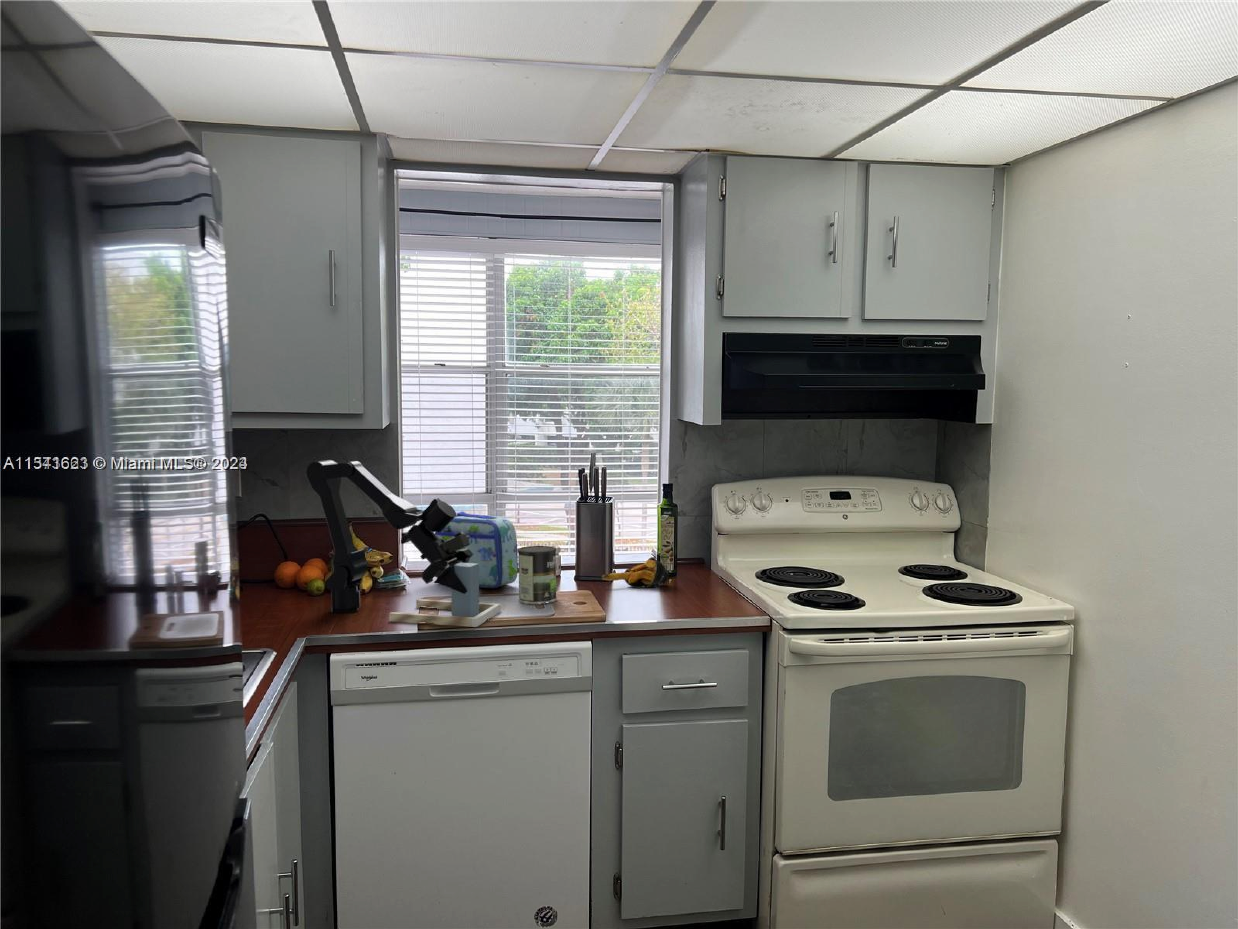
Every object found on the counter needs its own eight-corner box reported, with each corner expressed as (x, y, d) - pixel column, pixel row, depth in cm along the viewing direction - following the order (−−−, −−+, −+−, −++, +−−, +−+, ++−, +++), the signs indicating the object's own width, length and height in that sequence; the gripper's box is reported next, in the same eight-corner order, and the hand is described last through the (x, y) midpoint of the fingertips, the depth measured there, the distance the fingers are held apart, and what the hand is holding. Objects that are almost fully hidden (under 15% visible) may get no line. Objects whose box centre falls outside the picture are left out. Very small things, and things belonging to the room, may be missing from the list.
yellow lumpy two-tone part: (677, 572, 248) (621, 557, 241) (660, 603, 251) (605, 589, 244) (668, 555, 256) (613, 540, 249) (652, 585, 259) (598, 571, 252)
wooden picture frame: (389, 621, 214) (389, 613, 214) (418, 606, 229) (418, 599, 229) (476, 627, 209) (476, 618, 208) (500, 611, 223) (500, 603, 223)
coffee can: (561, 596, 240) (560, 545, 238) (550, 605, 230) (550, 552, 228) (525, 595, 242) (524, 544, 241) (513, 603, 232) (512, 551, 230)
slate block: (451, 617, 216) (451, 565, 215) (460, 613, 220) (460, 562, 220) (470, 619, 214) (470, 566, 214) (478, 614, 219) (478, 563, 218)
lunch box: (430, 583, 258) (428, 512, 257) (456, 576, 267) (454, 508, 265) (496, 593, 244) (495, 519, 242) (521, 586, 253) (520, 514, 251)
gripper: (432, 528, 208) (475, 576, 206) (465, 517, 226) (505, 561, 224) (403, 559, 210) (445, 607, 208) (438, 546, 228) (477, 590, 226)
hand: (470, 590), depth 217 cm, fingers closed on slate block, 5 cm apart
